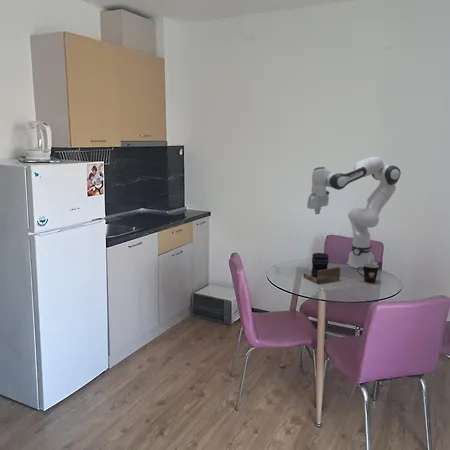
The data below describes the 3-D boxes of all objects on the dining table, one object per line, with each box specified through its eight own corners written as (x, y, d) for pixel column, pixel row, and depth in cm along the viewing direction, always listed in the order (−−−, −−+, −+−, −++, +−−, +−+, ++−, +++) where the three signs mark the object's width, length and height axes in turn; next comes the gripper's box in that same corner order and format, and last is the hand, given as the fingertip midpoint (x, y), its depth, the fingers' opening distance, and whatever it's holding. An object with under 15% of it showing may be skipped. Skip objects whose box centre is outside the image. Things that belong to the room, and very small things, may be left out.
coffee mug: (378, 280, 273) (380, 264, 271) (375, 284, 266) (376, 268, 264) (359, 277, 279) (361, 261, 277) (355, 281, 272) (356, 265, 270)
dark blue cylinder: (319, 281, 270) (320, 258, 267) (307, 277, 278) (308, 254, 275) (330, 279, 275) (332, 255, 272) (319, 274, 283) (320, 252, 280)
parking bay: (303, 277, 278) (304, 264, 277) (324, 273, 286) (324, 261, 284) (318, 284, 266) (318, 271, 264) (339, 280, 273) (340, 267, 272)
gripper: (314, 194, 275) (312, 216, 278) (330, 191, 290) (329, 212, 293) (305, 193, 279) (304, 215, 282) (322, 190, 294) (321, 211, 297)
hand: (317, 214), depth 288 cm, fingers closed
